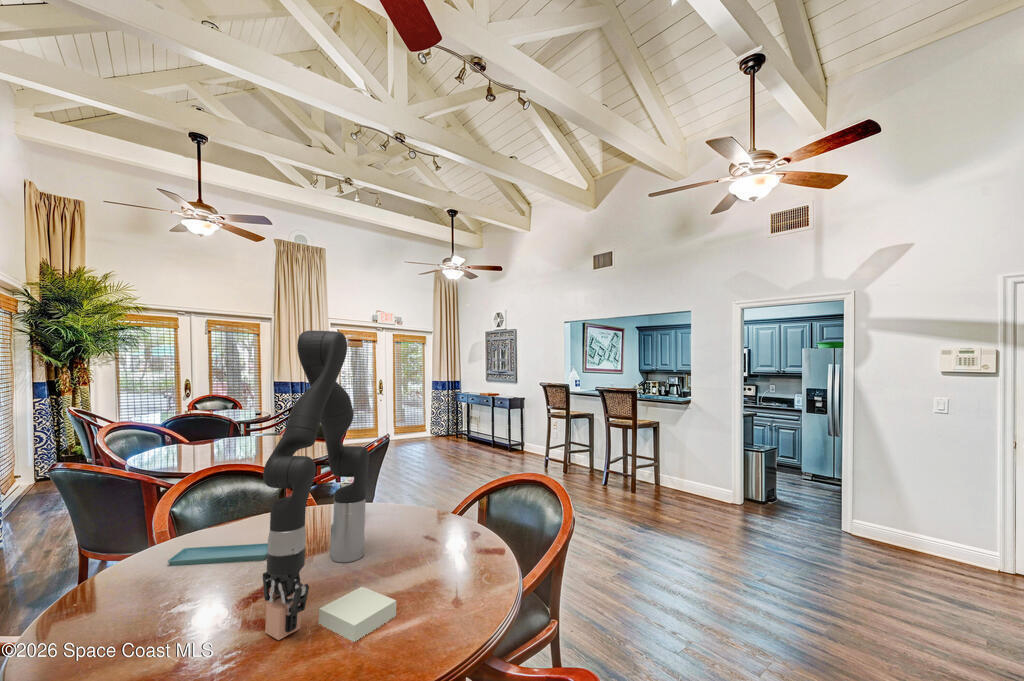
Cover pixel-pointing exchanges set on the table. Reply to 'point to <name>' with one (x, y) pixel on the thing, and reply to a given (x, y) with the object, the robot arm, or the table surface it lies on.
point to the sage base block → (357, 613)
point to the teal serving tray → (220, 554)
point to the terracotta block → (278, 619)
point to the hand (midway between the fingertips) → (283, 625)
